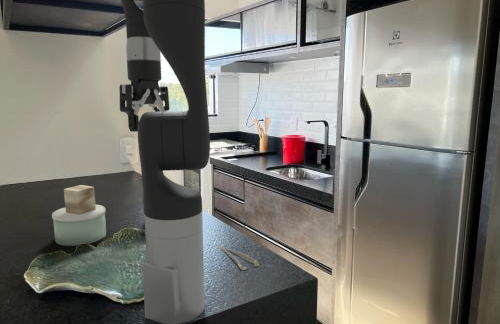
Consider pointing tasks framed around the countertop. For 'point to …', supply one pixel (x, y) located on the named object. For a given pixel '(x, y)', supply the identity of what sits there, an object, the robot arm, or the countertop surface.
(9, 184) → the countertop surface
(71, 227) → the round lidded container
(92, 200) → the beech block
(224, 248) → the tweezers
